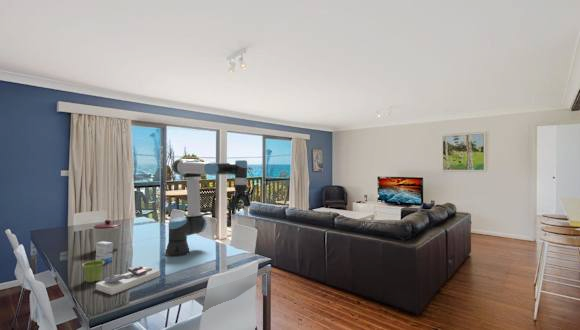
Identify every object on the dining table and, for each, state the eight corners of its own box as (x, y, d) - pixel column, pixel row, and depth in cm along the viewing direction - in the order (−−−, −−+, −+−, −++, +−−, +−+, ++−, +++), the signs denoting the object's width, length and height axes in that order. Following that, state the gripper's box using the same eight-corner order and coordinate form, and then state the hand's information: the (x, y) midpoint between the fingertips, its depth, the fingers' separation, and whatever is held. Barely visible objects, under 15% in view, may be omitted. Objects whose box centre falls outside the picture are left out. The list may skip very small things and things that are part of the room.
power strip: (96, 289, 135) (96, 282, 135) (144, 272, 159) (145, 266, 159) (111, 294, 130) (112, 287, 130) (160, 275, 153) (160, 269, 153)
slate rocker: (104, 283, 136) (104, 277, 137) (114, 279, 141) (114, 273, 141) (115, 283, 133) (114, 277, 133) (125, 279, 137) (124, 273, 138)
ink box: (112, 261, 176) (113, 242, 176) (105, 263, 171) (105, 244, 171) (102, 259, 178) (103, 240, 178) (95, 262, 174) (95, 242, 174)
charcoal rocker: (127, 272, 147) (128, 266, 147) (136, 269, 152) (137, 263, 152) (137, 277, 144) (138, 271, 144) (146, 274, 148) (147, 268, 148)
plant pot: (89, 276, 150) (89, 260, 151) (107, 276, 151) (108, 260, 151) (77, 284, 141) (77, 266, 141) (97, 283, 142) (97, 266, 142)
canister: (85, 251, 194) (85, 220, 194) (110, 245, 211) (111, 216, 211) (103, 255, 187) (103, 223, 187) (128, 248, 204) (128, 218, 204)
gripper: (234, 185, 168) (233, 221, 168) (256, 183, 191) (255, 215, 191) (223, 185, 171) (222, 220, 171) (246, 183, 194) (245, 214, 194)
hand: (240, 217), depth 181 cm, fingers open, 13 cm apart
